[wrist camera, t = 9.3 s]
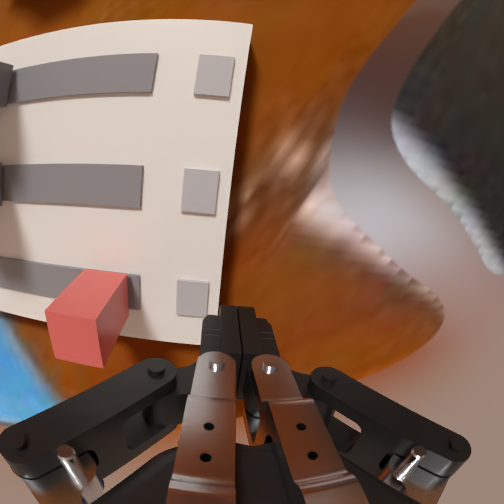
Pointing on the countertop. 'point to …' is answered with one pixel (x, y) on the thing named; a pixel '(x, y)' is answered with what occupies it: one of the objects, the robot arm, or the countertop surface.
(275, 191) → the countertop surface
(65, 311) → the block
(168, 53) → the breaker panel
